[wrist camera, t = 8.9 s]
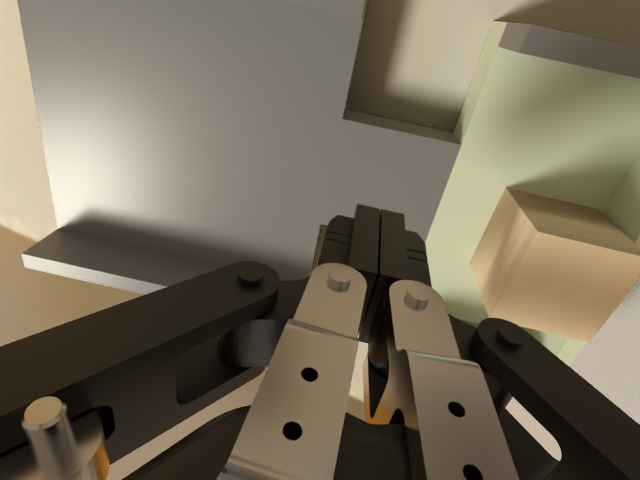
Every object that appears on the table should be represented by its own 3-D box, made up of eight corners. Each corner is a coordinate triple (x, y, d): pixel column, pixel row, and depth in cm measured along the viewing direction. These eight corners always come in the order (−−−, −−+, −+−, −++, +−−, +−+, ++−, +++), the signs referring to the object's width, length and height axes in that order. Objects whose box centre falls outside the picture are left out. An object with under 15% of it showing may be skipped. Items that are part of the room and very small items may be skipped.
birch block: (505, 187, 17) (537, 231, 14) (597, 209, 17) (652, 259, 14) (469, 263, 19) (489, 318, 16) (551, 282, 19) (589, 342, 16)
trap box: (42, -75, 16) (-64, -103, 12) (680, 60, 16) (779, 76, 12) (83, 224, 23) (24, 267, 19) (524, 323, 23) (554, 387, 19)
